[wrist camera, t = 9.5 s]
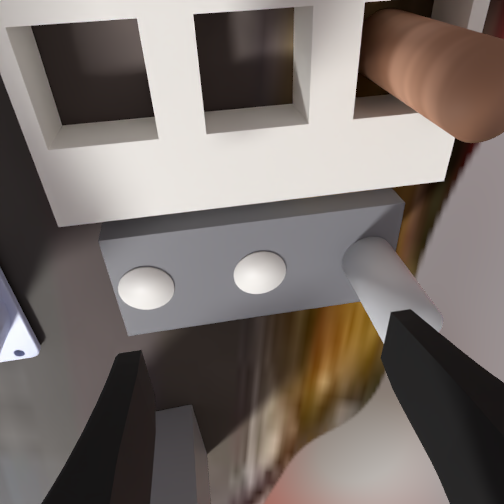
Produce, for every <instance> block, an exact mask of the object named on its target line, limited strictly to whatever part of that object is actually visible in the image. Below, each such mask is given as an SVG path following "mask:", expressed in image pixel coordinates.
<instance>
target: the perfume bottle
mask: <svg viewBox="0 0 504 504" xmlns="http://www.w3.org/2000/svg"><path fill="white" fill-rule="evenodd" d="M155 414H156V436H155V450H154V462H153V474H152V487H151V499H150V504H211V498H210V485H209V473H208V460H207V453H206V450H205V446H204V443H203V440H202V436H201V433H200V430H199V427H198V423H197V420H196V417H195V413H194V410H193V407H192V404H191V405H186V406H181V407H176V408H171V409H166V410H161V411H156V412H155Z"/></svg>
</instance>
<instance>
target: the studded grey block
mask: <svg viewBox="0 0 504 504" xmlns="http://www.w3.org/2000/svg"><path fill="white" fill-rule="evenodd" d="M404 206H405V202H404V201H403V200H402V199H401V198H400V197H399V196H398V194H397V193H396V192H395V191H394V190H393V189H392V188H387V189H379V190H371V191H362V192H354V193H346V194H337V195H329V196H321V197H312V198H304V199H296V200H287V201H279V202H271V203H262V204H254V205H246V206H237V207H229V208H221V209H212V210H204V211H196V212H187V213H179V214H171V215H162V216H154V217H146V218H137V219H129V220H121V221H112V222H104V223H102V227H101V231H100V235H99V240H98V242H99V245H100V248H101V251H102V255H103V258H104V261H105V264H106V267H107V270H108V273H109V277H110V280H111V283H112V286H113V289H114V292H115V295H116V299H117V302H118V305H119V308H120V311H121V314H122V317H123V321H124V324H125V327H126V330H127V333H128V336H131V335H138V334H144V333H151V332H158V331H165V330H171V329H178V328H185V327H191V326H198V325H205V324H212V323H218V322H225V321H232V320H238V319H245V318H252V317H259V316H265V315H272V314H279V313H285V312H292V311H299V310H306V309H312V308H319V307H326V306H332V305H339V304H346V303H353V302H359V301H361V303H362V305H363V306H364V308H365V310H366V312H367V314H368V316H369V317H370V319H371V321H372V323H373V325H374V327H375V328H376V330H377V332H378V334H379V336H380V338H381V339H382V341H383V343H384V341H385V337H386V332H387V327H388V323H389V318H390V314H391V312H394V311H401V310H407V309H411V310H412V311H414V312H415V313H416V314H417V315H419V316H420V317H421V318H422V319H423V320H425V321H426V322H427V323H428V324H429V325H431V326H432V327H433V328H434V329H435V330H436V331H438V332H440V330H441V328H442V326H443V316H442V314H441V312H440V311H439V310H438V308H437V307H436V306H435V304H434V303H433V302H432V301H431V299H430V298H429V296H428V295H427V294H426V293H425V291H424V290H423V288H422V287H421V286H420V284H419V283H418V282H417V280H416V279H415V278H414V276H413V275H412V274H411V272H410V271H409V269H408V268H407V267H406V265H405V264H404V263H403V261H402V260H401V259H400V257H399V256H398V255H397V253H396V252H395V251H396V246H397V241H398V236H399V231H400V226H401V221H402V216H403V211H404Z"/></svg>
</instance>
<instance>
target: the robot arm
mask: <svg viewBox="0 0 504 504" xmlns="http://www.w3.org/2000/svg"><path fill="white" fill-rule="evenodd" d="M40 348H41V347H40V344H39V342H38V340H37V338H36V336H35V334H34V332H33V330H32V328H31V326H30V324H29V322H28V320H27V318H26V317H25V315H24V313H23V311H22V309H21V307H20V305H19V303H18V301H17V299H16V297H15V295H14V293H13V291H12V289H11V287H10V285H9V283H8V281H7V279H6V277H5V275H4V274H3V272H2V270H1V268H0V362H4V361H10V360H17V359H24V358H30V357H35V356H37V355H38V354H39V352H40ZM20 350H22V351H20ZM381 359H382V362H383V365H384V368H385V370H386V373H387V376H388V378H389V380H390V383H391V386H392V388H393V390H394V392H395V394H396V396H397V398H398V400H399V402H400V404H401V406H402V408H403V410H404V412H405V413H406V415H407V417H408V419H409V421H410V423H411V425H412V427H413V428H414V430H415V432H416V434H417V436H418V438H419V440H420V441H421V443H422V445H423V447H424V449H425V451H426V453H427V455H428V456H429V458H430V460H431V462H432V464H433V466H434V468H435V470H436V472H437V474H438V476H439V479H440V481H441V483H442V486H443V488H444V490H445V493H446V495H447V498H448V500H449V502H450V504H504V383H503V382H502V381H500V380H499V379H498V378H496V377H495V376H493V375H492V374H491V373H489V372H488V371H487V370H485V369H484V368H482V367H481V366H480V365H478V364H477V363H476V362H475V361H474V360H472V359H471V358H469V357H468V356H467V355H466V354H465V353H463V352H462V351H461V350H460V349H458V348H457V347H456V346H455V345H453V344H452V343H451V342H450V341H449V340H447V339H446V338H445V337H444V336H442V335H441V334H440V333H439V332H438V331H436V330H435V329H434V328H433V327H432V326H431V325H429V324H428V323H427V322H426V321H425V320H423V319H422V318H421V317H420V316H419V315H417V314H416V313H415V312H414V311H412V310H411V309H407V310H401V311H394V312H391V314H390V318H389V323H388V327H387V332H386V337H385V341H384V346H383V350H382V355H381ZM155 436H156V414H155V394H154V390H153V387H152V384H151V380H150V377H149V374H148V370H147V367H146V364H145V360H144V357H143V354H142V350H139V351H133V352H126V353H120V354H118V355H117V356H116V357H115V360H114V363H113V366H112V368H111V371H110V373H109V376H108V378H107V381H106V383H105V386H104V388H103V390H102V392H101V395H100V397H99V399H98V401H97V404H96V406H95V408H94V410H93V412H92V414H91V416H90V418H89V420H88V422H87V424H86V426H85V428H84V430H83V432H82V434H81V436H80V438H79V440H78V442H77V444H76V445H75V447H74V449H73V451H72V453H71V455H70V456H69V458H68V460H67V462H66V464H65V466H64V467H63V469H62V471H61V472H60V474H59V476H58V478H57V479H56V481H55V483H54V484H53V486H52V488H51V489H50V491H49V492H48V494H47V496H46V497H45V499H44V500H43V502H42V503H41V504H150V499H151V487H152V474H153V462H154V450H155Z"/></svg>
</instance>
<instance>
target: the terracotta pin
mask: <svg viewBox="0 0 504 504" xmlns="http://www.w3.org/2000/svg"><path fill="white" fill-rule="evenodd" d="M358 71H359V72H360V73H361V74H362V75H364V76H365V77H367V78H368V79H370V80H371V81H372V82H374V83H375V84H377V85H378V86H380V87H381V88H383V89H384V90H386V91H387V92H389V93H390V94H392V95H393V96H394V97H396V98H397V99H399V100H400V101H402V102H403V103H405V104H406V105H408V106H409V107H411V108H412V109H414V110H415V111H416V112H418V113H419V114H421V115H422V116H424V117H425V118H427V119H428V120H430V121H431V122H433V123H434V124H436V125H437V126H438V127H440V128H441V129H443V130H444V131H446V132H447V133H449V134H450V135H452V136H453V137H455V138H456V139H458V140H460V141H463V142H467V143H478V142H483V141H487V140H490V139H492V138H494V137H496V136H498V135H500V134H502V133H503V132H504V39H501V38H497V37H494V36H490V35H487V34H483V33H480V32H476V31H473V30H469V29H466V28H462V27H459V26H455V25H452V24H448V23H445V22H441V21H438V20H434V19H431V18H427V17H424V16H420V15H417V14H414V13H410V12H407V11H403V10H400V9H395V8H386V9H382V10H379V11H377V12H375V13H374V14H372V15H371V16H369V17H368V18H367V19H366V20H365V21H364V22H363V26H362V36H361V46H360V55H359V65H358Z"/></svg>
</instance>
